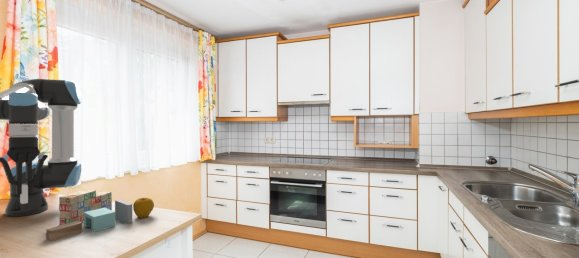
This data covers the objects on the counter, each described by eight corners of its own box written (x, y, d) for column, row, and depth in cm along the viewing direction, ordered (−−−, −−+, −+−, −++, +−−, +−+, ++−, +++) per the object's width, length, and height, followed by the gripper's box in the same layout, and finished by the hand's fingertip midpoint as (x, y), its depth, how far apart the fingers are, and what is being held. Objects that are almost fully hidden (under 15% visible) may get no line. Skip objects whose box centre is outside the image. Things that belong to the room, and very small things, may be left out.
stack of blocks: (101, 209, 140) (101, 185, 140) (112, 210, 139) (112, 185, 138) (58, 224, 119) (58, 196, 119) (71, 226, 118) (71, 197, 117)
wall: (115, 217, 128) (115, 200, 128) (119, 216, 130) (119, 199, 130) (127, 223, 121) (127, 205, 121) (132, 222, 123) (132, 204, 123)
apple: (157, 213, 134) (157, 195, 134) (147, 220, 126) (147, 200, 125) (139, 213, 134) (139, 195, 134) (129, 219, 126) (129, 200, 126)
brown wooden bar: (46, 239, 105) (46, 229, 105) (76, 230, 113) (76, 220, 113) (51, 241, 103) (51, 231, 103) (81, 232, 111) (81, 222, 111)
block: (83, 226, 117) (83, 212, 117) (105, 220, 124) (105, 207, 124) (93, 231, 112) (93, 217, 112) (115, 225, 118) (115, 211, 118)
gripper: (-1, 137, 91) (-1, 209, 91) (50, 136, 101) (50, 200, 102) (-5, 136, 95) (-5, 205, 95) (44, 135, 106) (44, 197, 106)
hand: (24, 202), depth 98 cm, fingers closed
